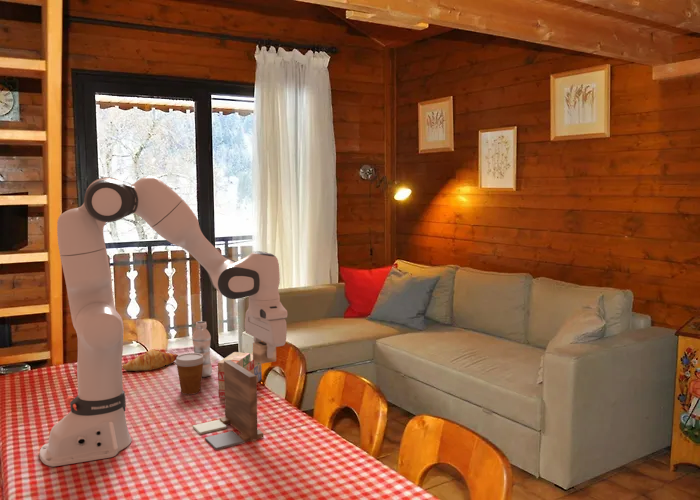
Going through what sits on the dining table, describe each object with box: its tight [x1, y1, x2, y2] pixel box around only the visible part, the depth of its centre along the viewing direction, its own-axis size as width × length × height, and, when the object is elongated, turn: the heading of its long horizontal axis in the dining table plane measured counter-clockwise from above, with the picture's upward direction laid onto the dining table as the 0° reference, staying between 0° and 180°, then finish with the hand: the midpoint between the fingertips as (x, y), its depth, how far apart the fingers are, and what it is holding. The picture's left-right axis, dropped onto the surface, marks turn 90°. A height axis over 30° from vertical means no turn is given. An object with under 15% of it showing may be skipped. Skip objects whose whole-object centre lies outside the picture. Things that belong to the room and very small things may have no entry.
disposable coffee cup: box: [174, 352, 204, 395], centre depth 208 cm, size 10×10×12 cm
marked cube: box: [252, 341, 277, 365], centre depth 179 cm, size 5×5×5 cm
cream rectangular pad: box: [192, 419, 228, 435], centre depth 178 cm, size 8×6×1 cm
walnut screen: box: [219, 360, 264, 443], centre depth 176 cm, size 6×18×18 cm, turn 34°
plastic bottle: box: [191, 320, 213, 378], centre depth 223 cm, size 6×7×20 cm
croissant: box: [122, 349, 179, 372], centre depth 236 cm, size 21×10×8 cm
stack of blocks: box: [217, 351, 263, 399], centre depth 211 cm, size 21×6×12 cm, turn 165°
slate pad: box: [204, 430, 245, 451], centre depth 169 cm, size 8×8×1 cm
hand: (264, 354), depth 179 cm, fingers closed on marked cube, 5 cm apart
